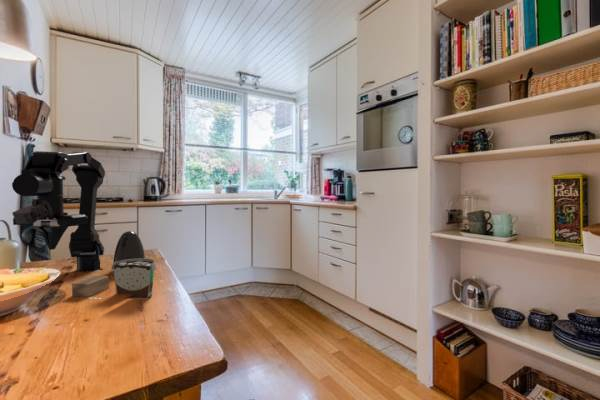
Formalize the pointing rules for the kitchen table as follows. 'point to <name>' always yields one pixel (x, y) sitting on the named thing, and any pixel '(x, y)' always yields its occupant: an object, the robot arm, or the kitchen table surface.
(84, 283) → the grey rectangular block
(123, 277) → the food container
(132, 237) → the dark grey rounded cone
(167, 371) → the kitchen table surface
